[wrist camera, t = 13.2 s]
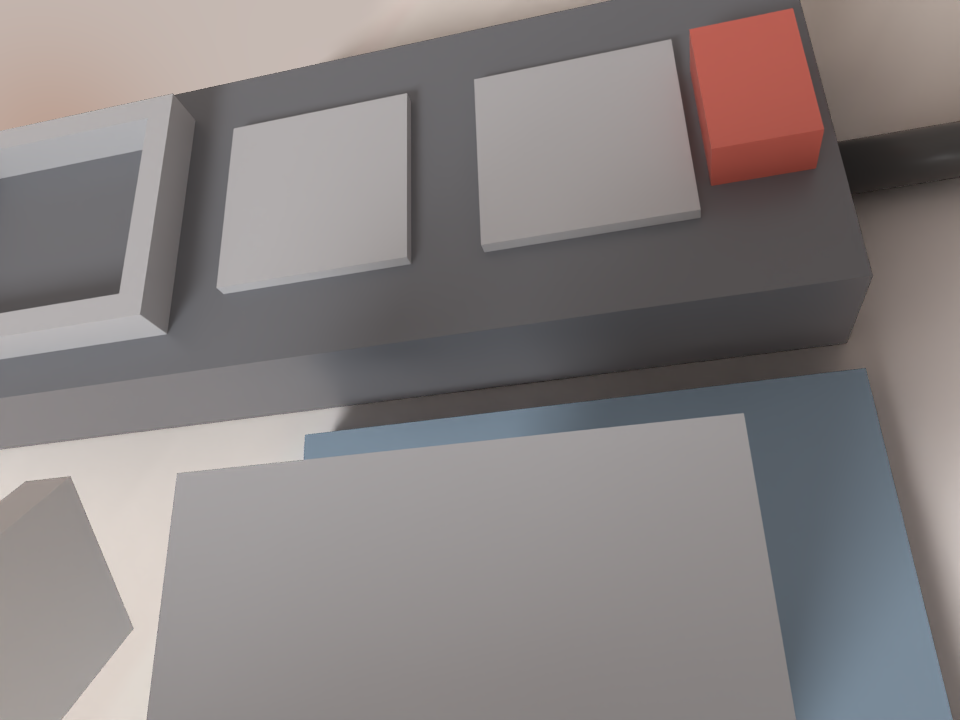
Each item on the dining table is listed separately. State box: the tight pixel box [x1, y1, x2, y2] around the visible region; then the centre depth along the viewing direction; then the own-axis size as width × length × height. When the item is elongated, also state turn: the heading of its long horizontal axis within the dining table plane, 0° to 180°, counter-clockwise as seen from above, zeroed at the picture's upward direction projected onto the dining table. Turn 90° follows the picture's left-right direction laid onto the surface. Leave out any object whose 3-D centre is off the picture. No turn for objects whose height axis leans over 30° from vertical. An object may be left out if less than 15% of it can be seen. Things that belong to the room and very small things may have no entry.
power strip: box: [0, 0, 960, 449], centre depth 19 cm, size 33×8×4 cm, turn 92°
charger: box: [147, 413, 796, 720], centre depth 11 cm, size 5×4×10 cm
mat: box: [304, 368, 953, 720], centre depth 16 cm, size 12×12×1 cm
